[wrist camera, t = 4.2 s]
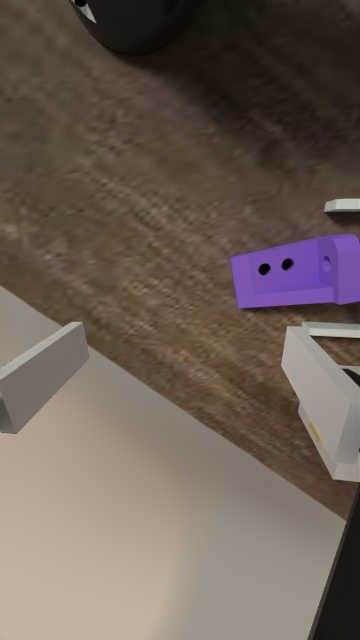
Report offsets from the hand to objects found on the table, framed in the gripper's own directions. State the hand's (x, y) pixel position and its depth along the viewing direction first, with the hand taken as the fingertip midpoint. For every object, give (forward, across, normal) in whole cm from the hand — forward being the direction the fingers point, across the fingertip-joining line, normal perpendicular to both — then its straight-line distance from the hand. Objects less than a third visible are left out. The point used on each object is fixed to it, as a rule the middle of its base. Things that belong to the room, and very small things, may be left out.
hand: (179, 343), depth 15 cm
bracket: (+19, +11, +1) cm, 22 cm away
